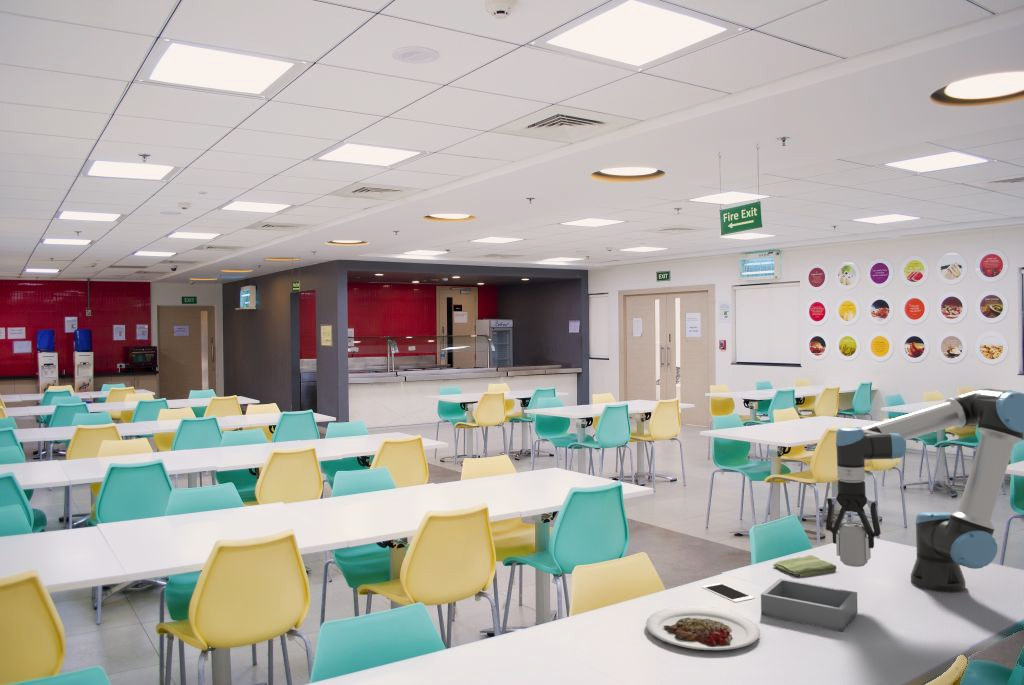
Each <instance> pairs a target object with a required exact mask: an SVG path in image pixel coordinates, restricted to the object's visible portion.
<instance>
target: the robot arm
mask: <svg viewBox="0 0 1024 685" xmlns="http://www.w3.org/2000/svg"><path fill="white" fill-rule="evenodd" d="M967 426H977V431H978V432H979V433H980V438H979V441H978V445H977V449H976V451H975V454H974V458H973V461H972V464H971V467H970V471H969V474H968V477H967V480H966V483H965V487H964V490H963V494H962V497H961V500H960V503H959V506H958V509H957V510H956V511H953V512H948V511H923V512H919V513H917V514H916V518H915V535H916V536H915V537H916V542H915V543H916V559H915V562H914V565H913V568H912V570H911V573H910V583H911V584H912V585H913V586H916V587H918V588H921V589H924V590H926V591H927V590H929V591H932V592H937V593H938V592H941V593H959V592H963V591H964V590H966V580H965V579H966V578H965V577H964V574H963V571H962V569H961V566H962V567H966V568H968V569H972V570H978V569H982V568H984V567H986V566H987V567H988V566H989V565H990V564H991V563H992V562H993V561H994V560H995V558H996V557H997V554H998V550H999V548H998V544H997V543H996V539H995V538H994V537H993V536H994V533H995V527H994V525H993V524H992V521H991V520H992V519H993V518H992V517H993V514H994V510H995V507H996V504H997V501H998V497H999V495H1000V491H1001V489H1002V486H1003V485H1002V484H1003V483H1004V482H1003V481H1004V479H1005V476H1006V473H1007V472H1006V471H1007V469H1008V466H1009V462H1010V459H1011V456H1012V452H1013V449H1014V446H1015V444H1017V443H1020V442H1022V441H1023V438H1024V393H1023V392H1019V391H1016V390H1011V389H1010V390H1009V389H1007V390H1006V389H996V388H995V389H992V388H980V389H975V390H972V391H968V392H965V393H962V394H958V395H956V396H952V397H949V398H946V400H945V401H944V403H941V404H938V405H934V406H930V407H928V408H927V407H926V408H924V409H921V410H917V411H914V412H910V413H908V414H907V413H906V414H904V415H901V416H897V417H895V418H891V419H886V420H883V421H880V422H877V423H874V424H871V425H867V426H863V427H859V426H857V427H841V428H839V429H837V430H836V435H835V438H836V439H835V447H836V470H837V471H836V472H837V474H836V476H837V479H838V480H837V496H834V497H833V496H830V497H828V498H827V499H826V503H827V506H828V508H827V514H826V523H825V530H826V531H829V532H831V533H832V543H833V544H836V547H835V548H836V556H837V557H840V539H839V528H840V527H841V526H842V525H841V523H843V522H842V521H843V520H844V517H845V515H846V513H847V512H853V513H857V516H859V520H860V522H861V524H863V526H864V528H865V531H866V533H867V536H866V537H865V545H866V560H868V561H869V560H870V559H871V556H872V554H871V553H872V552H871V549H873V548H874V547H875V537H878V536H880V535H881V532H882V531H881V527H880V522H879V517H878V509H877V507H878V502H877V501H876V500H874V501H872V500H869V499H868V498H867V496H866V494H867V493H866V482H865V481H864V480H865V479H866V468H865V467H866V466H865V465H866V464H865V460H867V461H868V460H870V461H871V460H894V459H901V458H903V457H904V456H905V455H906V453H907V452H906V451H907V444H906V441H908V440H911V439H912V440H913V439H914V438H917V437H918V438H919V437H922V436H925V435H928V434H931V433H934V432H938V431H942V430H944V429H945V430H946V429H948V428H951V427H956V428H964V427H967ZM837 503H838V504H839V505H840V509H839V513H838V515H837V518H836V520H835V523H834V524H833V522H834V513H835V505H836V504H837ZM865 505H867V506H868V509H869V510H870V511H869V512H870V517H871V518H870V519H871V522H872V526H871V524H870V522H869V519H868V517H867V515H866V512H865V509H864V508H865ZM872 528H873V529H872Z"/></svg>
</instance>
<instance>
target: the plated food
mask: <svg viewBox="0 0 1024 685" xmlns="http://www.w3.org/2000/svg"><path fill="white" fill-rule="evenodd" d="M645 624H646V625H645V626H646V629H647V631H648V632H649V633H650V634H651V635H653V636H654V637H655V638H657V639H659V640H661V641H663V642H666V643H668V644H671V645H675V646H678V647H682V648H688V649H692V650H704V651H724V650H725V651H727V650H728V651H729V650H735V649H740V648H744V647H747V646H749V645H751V644H753V643H755V642H756V641H757V640H758V639H759V638H760V636H761V629H760V627H759V626H758V624H757V623H756V622H754V621H753V620H752V619H750V618H748V617H746V616H744V615H742V614H739V613H736V612H733V611H731V610H727V609H722V608H717V607H710V606H700V605H699V606H698V605H697V606H695V605H694V606H693V605H692V606H691V605H689V606H688V605H687V606H675V607H669V608H664V609H661V610H657V611H656V612H654V613H652V614H650V616H649V617H647V618H646V621H645Z"/></svg>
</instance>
